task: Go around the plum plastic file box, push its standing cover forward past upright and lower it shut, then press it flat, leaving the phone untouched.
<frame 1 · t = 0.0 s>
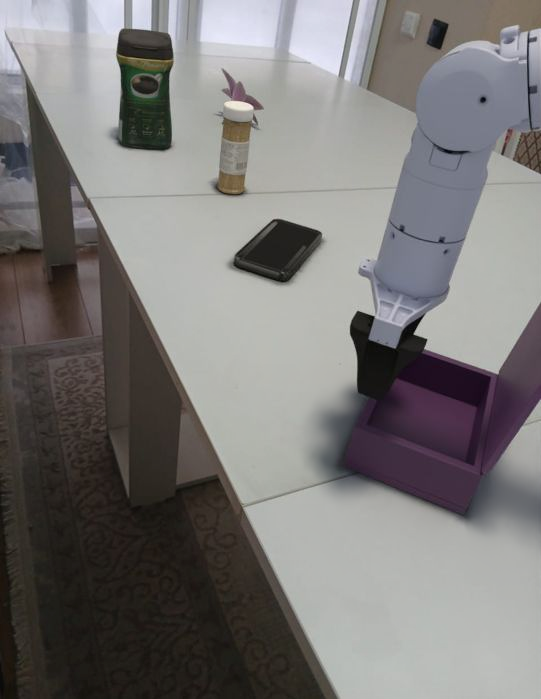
hand: (381, 369, 51), 7 cm above the table, tool pointing down, fingers open, 7 cm apart
coffee jar: (144, 143, 110), on the table
lily: (237, 123, 127), on the table
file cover: (525, 368, 48), point 11 cm above the table, hinge at 95.0°
sprinkles bottle: (230, 190, 97), on the table
file box: (418, 436, 56), on the table
phone: (279, 252, 82), on the table
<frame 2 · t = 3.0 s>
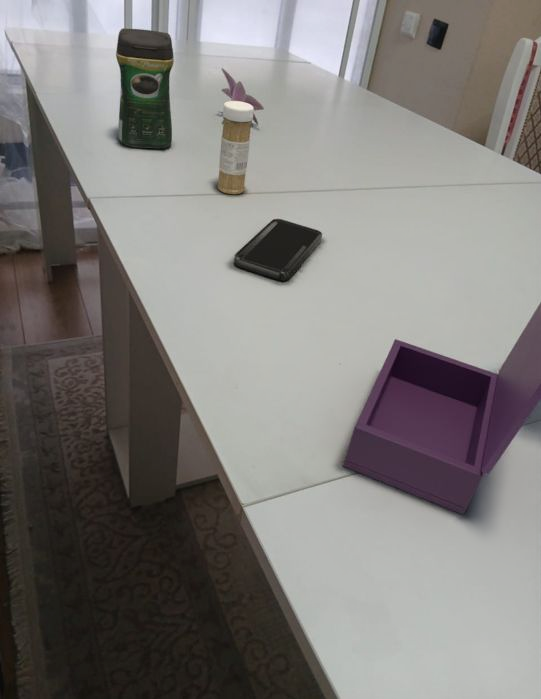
nothing on the table moved.
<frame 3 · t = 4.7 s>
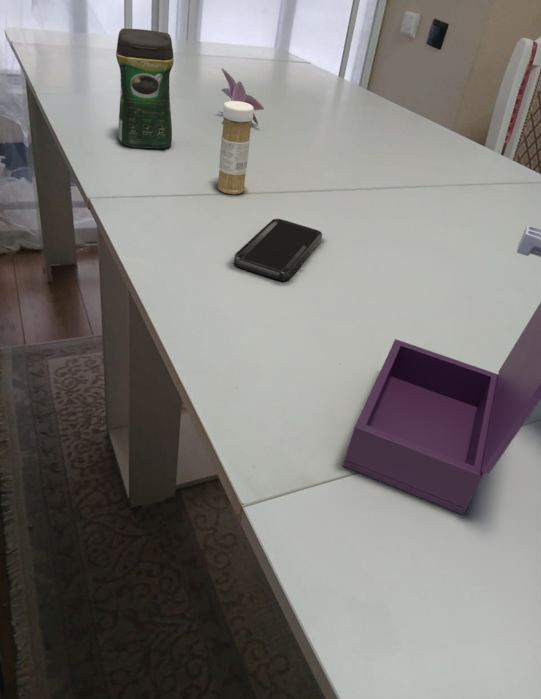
nothing on the table moved.
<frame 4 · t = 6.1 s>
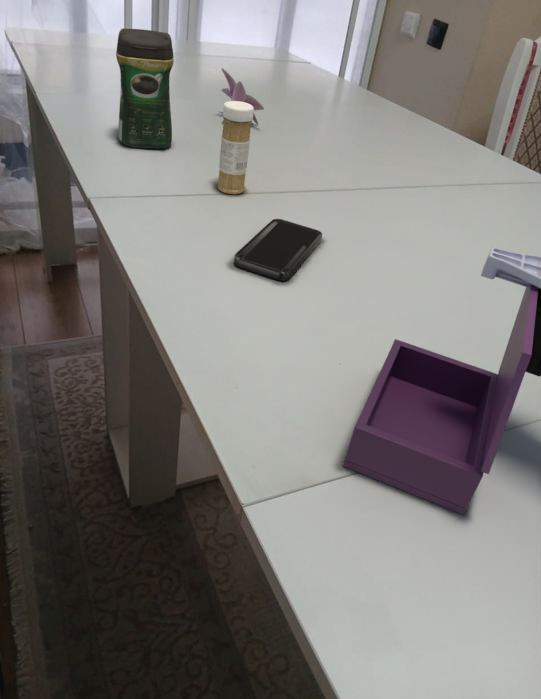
hand: (532, 368, 53), 8 cm above the table, tool pointing down, fingers closed
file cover: (512, 364, 49), point 11 cm above the table, hinge at 84.3°
everything else where it was.
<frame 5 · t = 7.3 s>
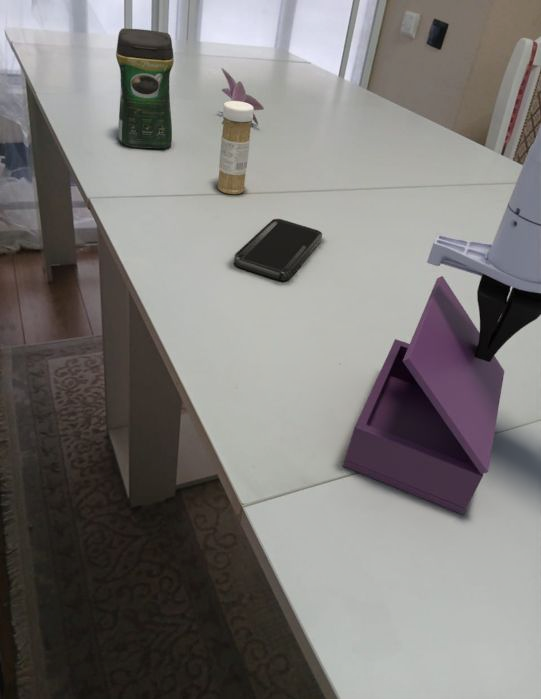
hand: (483, 354, 54), 8 cm above the table, tool pointing down, fingers closed
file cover: (460, 366, 51), point 9 cm above the table, hinge at 41.9°, touching gripper
everything else where it was.
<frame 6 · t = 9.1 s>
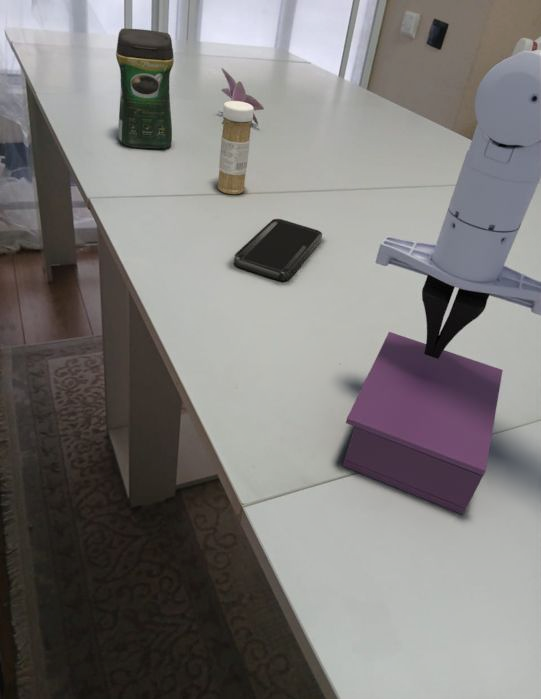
hand: (433, 351, 55), 7 cm above the table, tool pointing down, fingers closed
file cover: (430, 394, 53), point 5 cm above the table, hinge at -0.3°
everything else where it was.
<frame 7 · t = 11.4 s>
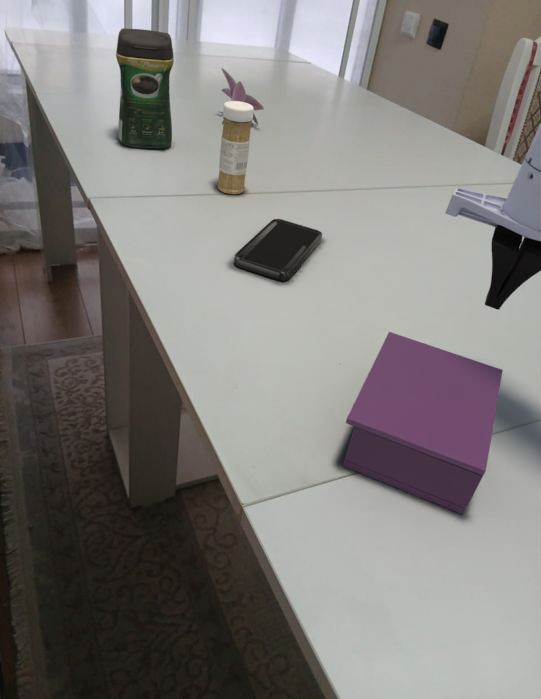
hand: (492, 302, 57), 10 cm above the table, tool pointing down, fingers closed
nothing on the table moved.
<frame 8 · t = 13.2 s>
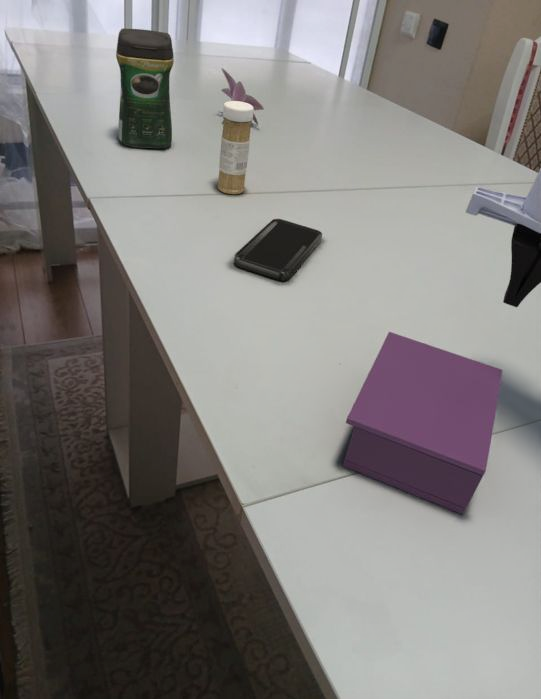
hand: (511, 300, 58), 10 cm above the table, tool pointing down, fingers closed
nothing on the table moved.
at the end: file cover at +0° (first picture: +95°); phone moved 0.0 cm from its start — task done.
